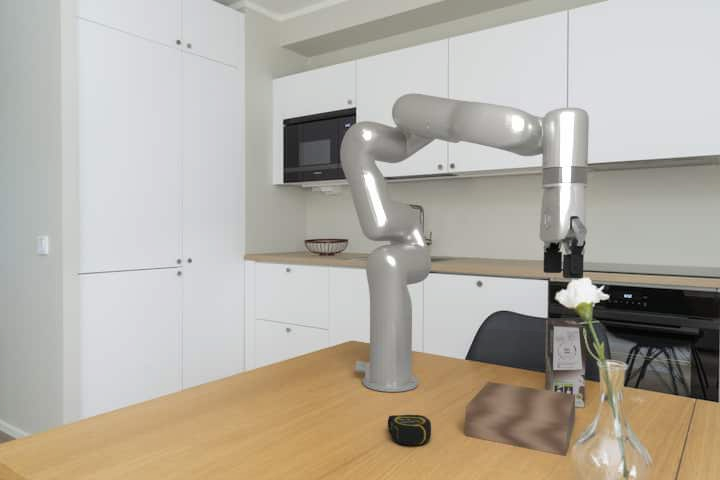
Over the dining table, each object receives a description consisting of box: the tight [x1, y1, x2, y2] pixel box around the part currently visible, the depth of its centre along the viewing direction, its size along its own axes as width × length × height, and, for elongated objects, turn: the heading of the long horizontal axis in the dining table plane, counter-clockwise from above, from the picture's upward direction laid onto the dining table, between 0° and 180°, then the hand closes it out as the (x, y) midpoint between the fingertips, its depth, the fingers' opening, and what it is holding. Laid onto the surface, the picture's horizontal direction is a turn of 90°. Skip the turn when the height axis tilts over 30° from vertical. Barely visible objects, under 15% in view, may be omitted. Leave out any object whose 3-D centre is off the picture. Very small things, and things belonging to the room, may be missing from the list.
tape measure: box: [387, 414, 432, 446], centre depth 84 cm, size 7×7×4 cm
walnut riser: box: [464, 381, 576, 457], centre depth 89 cm, size 16×16×5 cm
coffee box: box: [544, 318, 587, 408], centre depth 105 cm, size 9×6×16 cm
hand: (562, 275), depth 90 cm, fingers open, 9 cm apart
